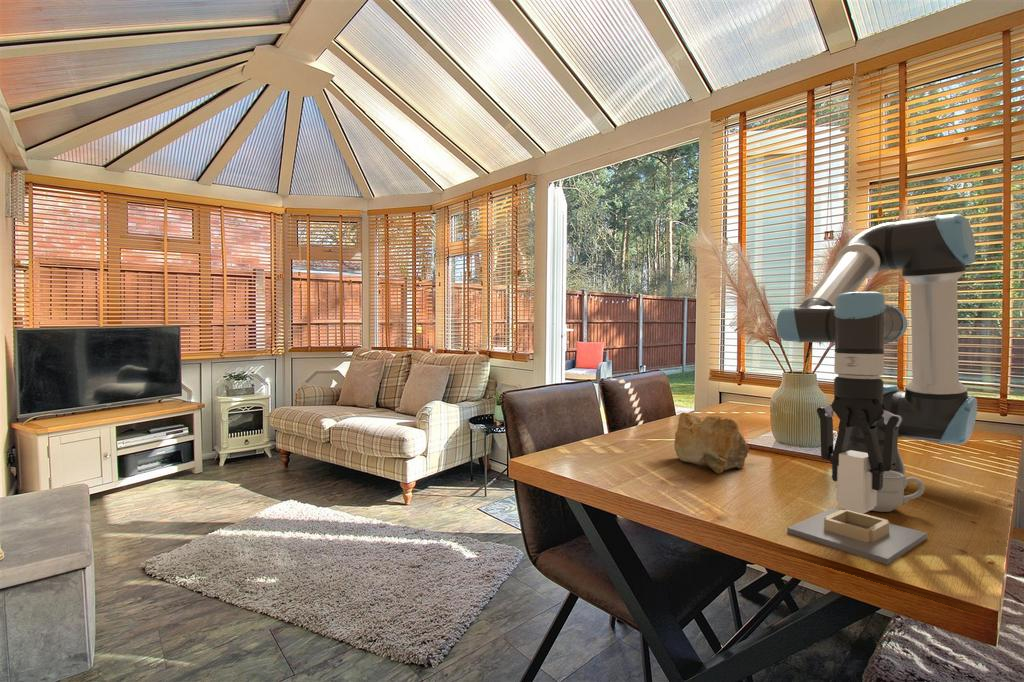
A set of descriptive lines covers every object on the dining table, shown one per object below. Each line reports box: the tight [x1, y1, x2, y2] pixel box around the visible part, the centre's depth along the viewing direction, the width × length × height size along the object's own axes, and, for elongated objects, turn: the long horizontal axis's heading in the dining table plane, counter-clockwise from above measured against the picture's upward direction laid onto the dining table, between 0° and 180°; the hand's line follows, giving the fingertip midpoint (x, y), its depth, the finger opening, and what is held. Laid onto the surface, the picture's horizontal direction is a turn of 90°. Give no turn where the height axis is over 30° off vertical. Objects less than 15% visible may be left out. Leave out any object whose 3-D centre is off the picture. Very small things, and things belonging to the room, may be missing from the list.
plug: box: [837, 450, 874, 514], centre depth 95 cm, size 5×4×10 cm
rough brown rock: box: [674, 412, 750, 475], centre depth 143 cm, size 23×17×15 cm
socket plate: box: [786, 507, 928, 566], centre depth 95 cm, size 18×16×3 cm
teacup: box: [871, 470, 926, 513], centre depth 109 cm, size 14×11×8 cm
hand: (856, 502), depth 95 cm, fingers closed on plug, 4 cm apart
